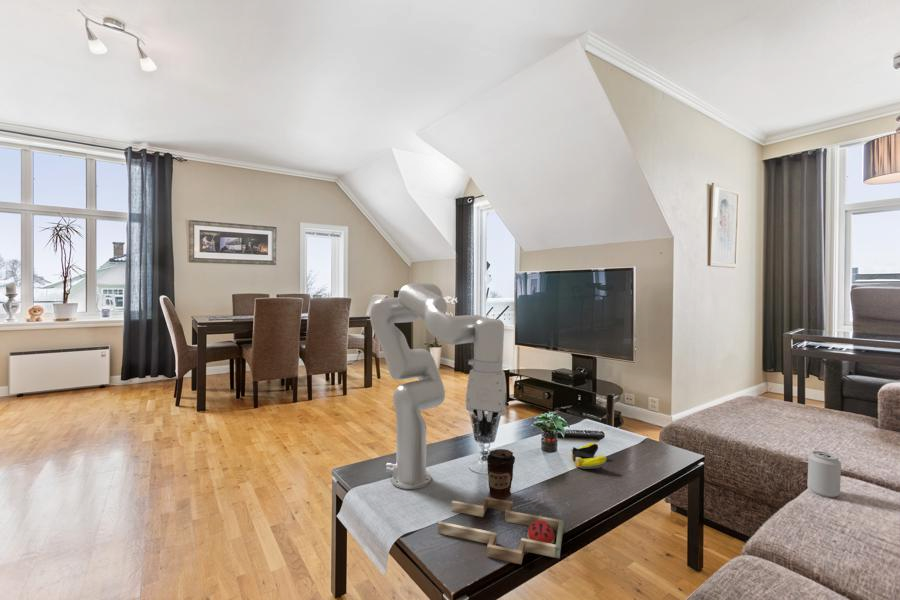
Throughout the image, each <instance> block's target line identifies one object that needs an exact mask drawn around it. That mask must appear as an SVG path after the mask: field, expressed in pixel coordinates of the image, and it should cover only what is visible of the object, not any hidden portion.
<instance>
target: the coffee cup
mask: <svg viewBox="0 0 900 600" xmlns="http://www.w3.org/2000/svg"><path fill="white" fill-rule="evenodd" d="M515 462H516V457H515V456H514V453H513V451H512V450H509V449H504V448H498V449H497V448H496V449H494V450H490V451H489V454H488V455H487V456H486V464H487V476H488V477H487V478H488V480H487V481H488V488H489V491H488V492H489V497H490V498H495V499H500V500H508V499H510V498H512V493H511V490H512V482H513V477H514V464H515Z"/></svg>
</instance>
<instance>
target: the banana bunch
mask: <svg viewBox="0 0 900 600" xmlns="http://www.w3.org/2000/svg"><path fill="white" fill-rule="evenodd" d="M570 450H571V460H572V461H573V462H574V466H575V467H577V468H579V469H585V470H587V469H588V470H591V469H600V468H601V467H603V466H605V464H606V463H607V462H608V460H607V459H608V458H607V457H606V456H605V455H597V456H595V455H596V453H597V451H598V450H599V446H598V444H597V443H595V442H590V443H589V442H588V443H587V444H585V445H583V446H581V447H579V448H577V447H570Z"/></svg>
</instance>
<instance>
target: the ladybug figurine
mask: <svg viewBox="0 0 900 600" xmlns="http://www.w3.org/2000/svg"><path fill="white" fill-rule="evenodd" d="M526 535H527V536H526V537H527V539H530V540H535V541H540V542H545V543H550V544H555V543H556V541H555V540H556V536H555V533H554V530H552V528H551V527H550V525H549V524H548V523H547V522H545V521H544V520H536V521H535V522H533V523H532V524H531V526H529V527H528V530H527V534H526Z"/></svg>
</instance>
